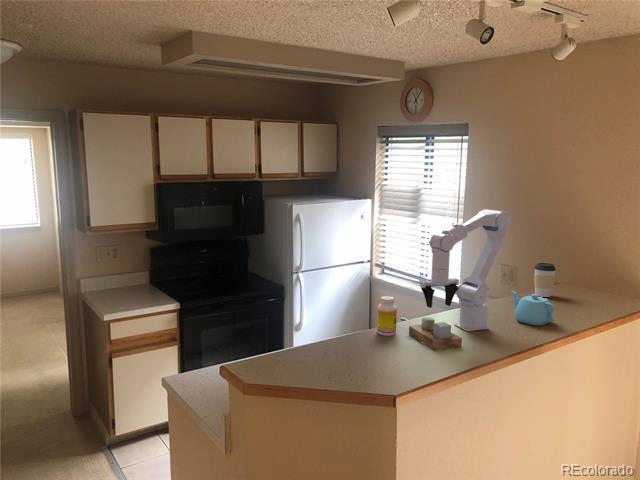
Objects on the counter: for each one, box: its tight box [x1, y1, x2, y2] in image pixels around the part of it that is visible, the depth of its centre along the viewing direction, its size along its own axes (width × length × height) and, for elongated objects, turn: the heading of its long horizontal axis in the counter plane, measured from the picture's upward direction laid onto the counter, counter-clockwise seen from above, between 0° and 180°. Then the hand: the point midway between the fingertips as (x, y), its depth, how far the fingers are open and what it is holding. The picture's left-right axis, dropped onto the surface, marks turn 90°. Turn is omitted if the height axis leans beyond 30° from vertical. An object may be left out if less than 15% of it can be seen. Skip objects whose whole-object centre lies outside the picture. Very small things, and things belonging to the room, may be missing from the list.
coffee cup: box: [533, 262, 557, 298], centre depth 231 cm, size 9×9×15 cm
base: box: [408, 317, 463, 351], centre depth 172 cm, size 10×16×6 cm, turn 20°
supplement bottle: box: [376, 295, 398, 337], centre depth 178 cm, size 7×7×13 cm
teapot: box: [510, 290, 555, 326], centre depth 194 cm, size 13×11×18 cm
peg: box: [433, 321, 452, 339], centre depth 168 cm, size 4×4×7 cm
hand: (438, 306), depth 178 cm, fingers open, 7 cm apart
